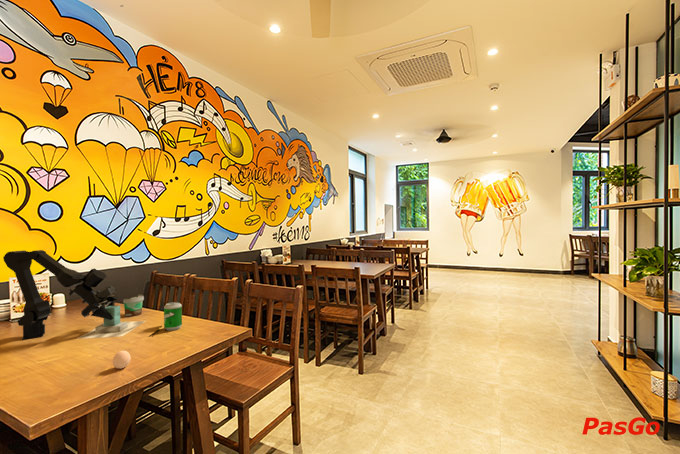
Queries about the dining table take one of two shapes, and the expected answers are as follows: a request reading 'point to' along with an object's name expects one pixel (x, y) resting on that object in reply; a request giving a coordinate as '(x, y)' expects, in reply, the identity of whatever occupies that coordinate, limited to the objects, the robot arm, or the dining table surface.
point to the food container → (133, 306)
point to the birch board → (112, 334)
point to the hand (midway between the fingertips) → (115, 317)
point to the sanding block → (112, 321)
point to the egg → (121, 359)
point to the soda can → (172, 316)
